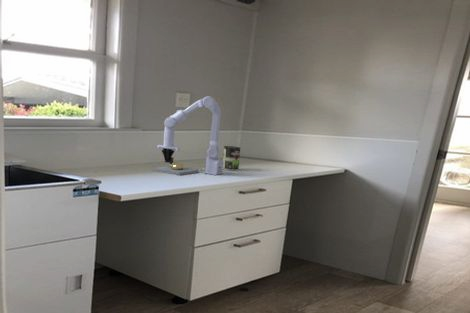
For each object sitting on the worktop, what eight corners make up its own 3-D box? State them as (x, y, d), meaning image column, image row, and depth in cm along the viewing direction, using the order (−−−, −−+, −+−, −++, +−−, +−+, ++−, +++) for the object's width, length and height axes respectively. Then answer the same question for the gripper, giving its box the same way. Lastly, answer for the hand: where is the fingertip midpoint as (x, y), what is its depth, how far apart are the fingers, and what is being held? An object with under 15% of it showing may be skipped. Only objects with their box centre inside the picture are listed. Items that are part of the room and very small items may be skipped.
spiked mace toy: (185, 169, 260) (185, 160, 259) (174, 169, 256) (175, 160, 255) (174, 166, 270) (175, 157, 269) (165, 166, 266) (165, 157, 265)
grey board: (198, 172, 264) (199, 169, 264) (179, 175, 249) (179, 172, 249) (173, 167, 274) (173, 165, 274) (153, 170, 259) (153, 167, 259)
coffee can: (242, 170, 286) (243, 147, 284) (229, 171, 279) (231, 148, 278) (231, 167, 294) (233, 145, 292) (218, 168, 287) (220, 145, 285)
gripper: (183, 139, 263) (181, 163, 264) (163, 137, 270) (161, 160, 272) (175, 140, 257) (174, 164, 258) (155, 137, 264) (154, 160, 266)
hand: (167, 162), depth 265 cm, fingers closed
